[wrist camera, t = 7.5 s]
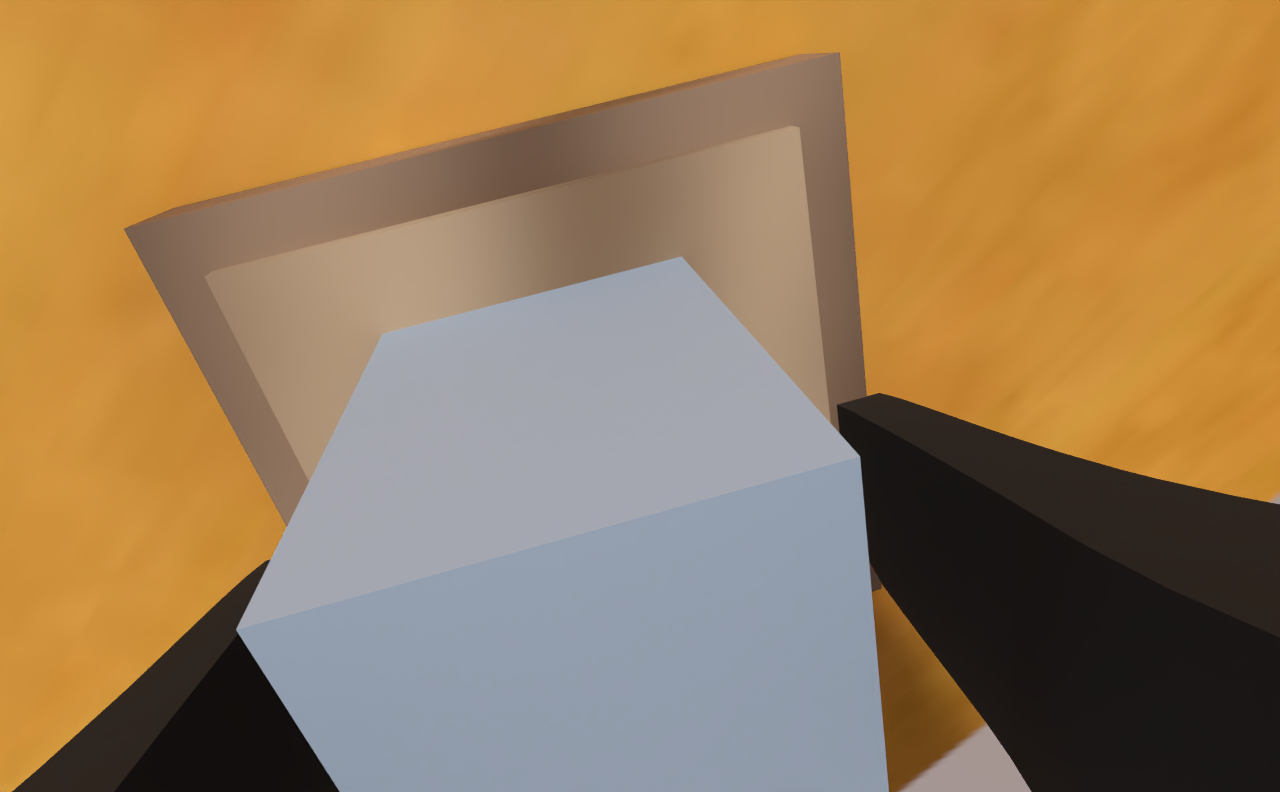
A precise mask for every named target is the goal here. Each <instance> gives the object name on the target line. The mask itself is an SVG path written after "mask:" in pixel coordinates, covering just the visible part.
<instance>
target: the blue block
mask: <svg viewBox="0 0 1280 792" xmlns="http://www.w3.org/2000/svg"><path fill="white" fill-rule="evenodd" d="M236 630H237V632H238V634H239V635H240V637H241V638H242V640H243V641H244V643H245V645H246V646H247V648H248V649H249V651H250V652H251V654H252V655H253V657H254V659H255V660H256V662H257V663H258V665H259V666H260V668H261V670H262V671H263V673H264V674H265V676H266V677H267V679H268V681H269V682H270V684H271V685H272V687H273V688H274V690H275V691H276V693H277V695H278V696H279V698H280V699H281V701H282V702H283V704H284V706H285V707H286V709H287V710H288V712H289V713H290V715H291V716H292V718H293V720H294V721H295V723H296V724H297V726H298V727H299V729H300V731H301V732H302V734H303V735H304V737H305V738H306V740H307V741H308V743H309V745H310V746H311V748H312V749H313V751H314V752H315V754H316V756H317V757H318V759H319V760H320V762H321V763H322V765H323V766H324V768H325V770H326V771H327V773H328V774H329V776H330V777H331V779H332V781H333V782H334V784H335V785H336V787H337V788H338V790H339V791H340V792H889V786H888V775H887V763H886V752H885V740H884V728H883V717H882V705H881V694H880V682H879V671H878V659H877V647H876V636H875V624H874V613H873V601H872V589H871V578H870V566H869V555H868V543H867V532H866V520H865V508H864V497H863V485H862V474H861V462H860V456H859V455H858V454H857V452H856V451H855V450H854V449H853V448H852V447H851V446H850V445H849V443H848V442H847V441H846V440H845V439H844V438H843V437H842V436H841V434H840V433H839V432H838V431H837V430H836V429H835V428H834V427H833V426H832V424H831V423H830V422H829V421H828V420H827V419H826V418H825V417H824V415H823V414H822V413H821V412H820V411H819V410H818V409H817V408H816V406H815V405H814V404H813V403H812V402H811V401H810V400H809V399H808V397H807V396H806V395H805V394H804V393H803V392H802V391H801V390H800V389H799V387H798V386H797V385H796V384H795V383H794V382H793V381H792V380H791V378H790V377H789V376H788V375H787V374H786V373H785V372H784V371H783V369H782V368H781V367H780V366H779V365H778V364H777V363H776V362H775V360H774V359H773V358H772V357H771V356H770V355H769V354H768V353H767V352H766V350H765V349H764V348H763V347H762V346H761V345H760V344H759V343H758V341H757V340H756V339H755V338H754V337H753V336H752V335H751V334H750V332H749V331H748V330H747V329H746V328H745V327H744V326H743V325H742V323H741V322H740V321H739V320H738V319H737V318H736V317H735V316H734V315H733V313H732V312H731V311H730V310H729V309H728V308H727V307H726V306H725V304H724V303H723V302H722V301H721V300H720V299H719V298H718V297H717V295H716V294H715V293H714V292H713V291H712V290H711V289H710V288H709V286H708V285H707V284H706V283H705V282H704V281H703V280H702V279H701V278H700V276H699V275H698V274H697V273H696V272H695V271H694V270H693V269H692V267H691V266H690V265H689V264H688V263H687V262H686V261H685V260H684V258H683V257H682V256H681V257H677V258H674V259H670V260H666V261H662V262H658V263H654V264H650V265H646V266H643V267H639V268H635V269H631V270H627V271H623V272H619V273H616V274H612V275H608V276H604V277H600V278H596V279H592V280H588V281H585V282H581V283H577V284H573V285H569V286H565V287H561V288H558V289H554V290H550V291H546V292H542V293H538V294H534V295H531V296H527V297H523V298H519V299H515V300H511V301H507V302H503V303H500V304H496V305H492V306H488V307H484V308H480V309H476V310H473V311H469V312H465V313H461V314H457V315H453V316H449V317H445V318H442V319H438V320H434V321H430V322H426V323H422V324H418V325H415V326H411V327H407V328H403V329H399V330H395V331H391V332H388V333H384V334H382V336H381V338H380V340H379V342H378V344H377V346H376V348H375V350H374V352H373V354H372V356H371V358H370V360H369V362H368V364H367V366H366V368H365V370H364V372H363V374H362V376H361V378H360V380H359V382H358V384H357V386H356V388H355V390H354V392H353V394H352V396H351V398H350V400H349V402H348V404H347V406H346V408H345V410H344V412H343V414H342V416H341V418H340V420H339V423H338V425H337V427H336V429H335V431H334V433H333V435H332V437H331V439H330V441H329V443H328V445H327V447H326V449H325V451H324V453H323V455H322V457H321V459H320V461H319V463H318V465H317V467H316V469H315V471H314V473H313V475H312V477H311V479H310V481H309V483H308V485H307V487H306V489H305V491H304V493H303V495H302V497H301V499H300V501H299V503H298V505H297V507H296V510H295V512H294V514H293V516H292V518H291V520H290V522H289V524H288V526H287V528H286V530H285V532H284V534H283V536H282V538H281V540H280V542H279V544H278V546H277V548H276V550H275V552H274V554H273V556H272V558H271V560H270V562H269V564H268V566H267V568H266V570H265V572H264V574H263V576H262V578H261V580H260V582H259V584H258V586H257V588H256V590H255V592H254V594H253V597H252V599H251V601H250V603H249V605H248V607H247V609H246V611H245V613H244V615H243V617H242V619H241V621H240V623H239V625H238V627H237V629H236Z"/></svg>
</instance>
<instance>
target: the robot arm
mask: <svg viewBox="0 0 1280 792" xmlns="http://www.w3.org/2000/svg"><path fill="white" fill-rule="evenodd" d="M837 413H838V423H839V433H840V434H841V436H842V437H843V438H844V439H845V440H846V441H847V442H848V443H849V445H850V446H851V447H852V448H853V449H854V450H855V451H856V452H857V454H858V455H859V456H860V462H861V474H862V485H863V497H864V508H865V520H866V532H867V543H868V555H869V562H870V564H871V566H872V567H873V569H874V571H875V573H876V574H877V576H878V578H879V580H880V581H881V583H882V585H883V586H884V587H885V589H886V590H887V591H888V593H889V594H890V596H891V597H892V598H893V600H894V601H895V602H896V604H897V605H898V606H899V608H900V609H901V610H902V612H903V613H904V614H905V616H906V617H907V618H908V620H909V621H910V622H911V624H912V625H913V626H914V628H915V629H916V630H917V632H918V633H919V634H920V636H921V637H922V638H923V640H924V641H925V642H926V644H927V645H928V646H929V648H930V649H931V650H932V652H933V653H934V654H935V656H936V657H937V658H938V660H939V661H940V662H941V663H942V665H943V666H944V667H945V669H946V670H947V671H948V673H949V674H950V675H951V677H952V678H953V679H954V681H955V682H956V683H957V685H958V686H959V687H960V689H961V690H962V691H963V693H964V694H965V695H966V697H967V698H968V699H969V700H970V702H971V703H972V704H973V706H974V707H975V708H976V710H977V711H978V712H979V714H980V715H981V716H982V718H983V719H984V720H985V722H986V723H987V724H988V726H989V727H990V729H991V730H992V732H993V733H994V734H995V736H996V737H997V739H998V740H999V742H1000V743H1001V745H1002V746H1003V747H1004V749H1005V750H1006V752H1007V753H1008V755H1009V756H1010V758H1011V759H1012V761H1013V762H1014V764H1015V766H1016V767H1017V769H1018V770H1019V772H1020V774H1021V775H1022V777H1023V779H1024V780H1025V782H1026V783H1027V785H1028V787H1029V788H1030V790H1031V791H1032V792H1280V504H1274V503H1269V502H1264V501H1258V500H1253V499H1248V498H1242V497H1237V496H1232V495H1228V494H1223V493H1219V492H1214V491H1210V490H1205V489H1200V488H1196V487H1191V486H1187V485H1182V484H1178V483H1173V482H1169V481H1164V480H1160V479H1156V478H1152V477H1148V476H1144V475H1140V474H1136V473H1132V472H1128V471H1124V470H1120V469H1117V468H1113V467H1110V466H1106V465H1103V464H1099V463H1096V462H1092V461H1089V460H1085V459H1082V458H1078V457H1074V456H1071V455H1067V454H1064V453H1061V452H1057V451H1054V450H1051V449H1048V448H1045V447H1041V446H1038V445H1035V444H1032V443H1029V442H1026V441H1023V440H1020V439H1017V438H1014V437H1011V436H1008V435H1005V434H1002V433H999V432H996V431H993V430H990V429H987V428H984V427H981V426H978V425H975V424H972V423H970V422H967V421H964V420H961V419H958V418H955V417H952V416H950V415H947V414H944V413H941V412H938V411H935V410H932V409H930V408H927V407H924V406H921V405H918V404H915V403H912V402H909V401H906V400H903V399H900V398H896V397H893V396H889V395H885V394H881V393H878V394H874V395H870V396H867V397H863V398H859V399H856V400H852V401H848V402H845V403H841V404H837ZM269 562H270V560H267V561H265V562H264V563H263V564H261V565H260V566H259V567H258V568H256V569H255V570H254V571H253V572H251V573H250V574H249V575H248V576H247V577H245V578H244V579H243V580H242V581H241V582H240V583H239V584H238V585H236V586H235V587H234V588H233V589H232V590H231V591H230V592H229V593H228V594H227V595H226V596H224V597H223V598H222V599H221V600H220V601H219V602H218V603H217V604H216V605H215V606H214V607H213V608H212V609H211V610H210V611H208V612H207V613H206V614H205V615H204V616H203V617H202V618H201V619H200V620H199V621H198V622H197V623H196V624H195V625H194V626H193V627H192V628H191V629H190V630H189V631H188V632H186V633H185V634H184V635H183V636H182V637H181V638H180V639H179V640H178V641H177V642H176V643H175V644H174V645H173V646H172V647H171V648H170V649H169V650H168V651H167V652H166V653H164V654H163V655H162V656H161V657H160V658H159V659H158V660H157V661H156V662H155V663H154V664H153V665H152V666H151V667H150V668H149V669H148V670H147V671H146V672H145V673H144V674H142V675H141V676H140V677H139V678H138V679H137V680H136V681H135V682H134V683H133V684H132V685H131V686H130V687H129V688H128V689H127V690H126V691H124V692H123V693H122V694H121V695H120V696H119V697H118V698H117V699H116V700H114V701H113V702H112V703H111V704H110V705H109V706H108V707H107V708H106V709H105V710H103V711H102V712H101V713H100V714H99V715H98V716H97V717H96V718H95V719H93V720H92V721H91V722H90V723H89V724H88V725H87V726H86V727H85V728H83V729H82V730H81V731H80V732H79V733H78V734H77V735H76V736H75V737H74V738H72V739H71V740H70V741H69V742H68V743H67V744H66V745H65V746H64V747H62V748H61V749H60V750H59V751H58V752H57V753H56V754H55V755H54V756H52V757H51V758H50V759H49V760H48V761H47V762H46V763H45V764H44V765H43V766H41V767H40V768H39V769H38V770H37V771H36V772H35V773H33V774H32V775H31V776H30V777H29V778H28V779H26V780H25V781H24V782H23V783H22V784H21V785H19V786H18V787H17V788H16V789H15V790H14V791H12V792H340V791H339V790H338V788H337V787H336V785H335V784H334V782H333V781H332V779H331V777H330V776H329V774H328V773H327V771H326V770H325V768H324V766H323V765H322V763H321V762H320V760H319V759H318V757H317V756H316V754H315V752H314V751H313V749H312V748H311V746H310V745H309V743H308V741H307V740H306V738H305V737H304V735H303V734H302V732H301V731H300V729H299V727H298V726H297V724H296V723H295V721H294V720H293V718H292V716H291V715H290V713H289V712H288V710H287V709H286V707H285V706H284V704H283V702H282V701H281V699H280V698H279V696H278V695H277V693H276V691H275V690H274V688H273V687H272V685H271V684H270V682H269V681H268V679H267V677H266V676H265V674H264V673H263V671H262V670H261V668H260V666H259V665H258V663H257V662H256V660H255V659H254V657H253V655H252V654H251V652H250V651H249V649H248V648H247V646H246V645H245V643H244V641H243V640H242V638H241V637H240V635H239V634H238V632H237V630H236V629H237V627H238V625H239V623H240V621H241V619H242V617H243V615H244V613H245V611H246V609H247V607H248V605H249V603H250V601H251V599H252V597H253V594H254V592H255V590H256V588H257V586H258V584H259V582H260V580H261V578H262V576H263V574H264V572H265V570H266V568H267V566H268V564H269Z"/></svg>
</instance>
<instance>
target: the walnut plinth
mask: <svg viewBox="0 0 1280 792" xmlns="http://www.w3.org/2000/svg"><path fill="white" fill-rule="evenodd" d="M124 230H125V232H126V234H127V236H128V237H129V239H130V241H131V243H132V245H133V246H134V248H135V250H136V252H137V254H138V256H139V257H140V259H141V261H142V263H143V265H144V267H145V268H146V270H147V272H148V274H149V276H150V278H151V279H152V281H153V283H154V285H155V287H156V289H157V290H158V292H159V294H160V296H161V298H162V299H163V301H164V303H165V305H166V307H167V309H168V310H169V312H170V314H171V316H172V318H173V320H174V321H175V323H176V325H177V327H178V329H179V331H180V332H181V334H182V336H183V338H184V340H185V342H186V343H187V345H188V347H189V349H190V351H191V352H192V354H193V356H194V358H195V360H196V362H197V363H198V365H199V367H200V369H201V371H202V373H203V374H204V376H205V378H206V380H207V382H208V384H209V385H210V387H211V389H212V391H213V393H214V395H215V396H216V398H217V400H218V402H219V404H220V405H221V407H222V409H223V411H224V413H225V415H226V416H227V418H228V420H229V422H230V424H231V426H232V427H233V429H234V431H235V433H236V435H237V437H238V438H239V440H240V442H241V444H242V446H243V448H244V449H245V451H246V453H247V455H248V457H249V458H250V460H251V462H252V464H253V466H254V468H255V469H256V471H257V473H258V475H259V477H260V479H261V480H262V482H263V484H264V486H265V488H266V490H267V491H268V493H269V495H270V497H271V499H272V501H273V502H274V504H275V506H276V508H277V510H278V511H279V513H280V515H281V517H282V519H283V521H284V522H285V524H286V526H288V524H289V522H290V520H291V518H292V516H293V514H294V512H295V510H296V507H297V505H298V503H299V501H300V499H301V497H302V495H303V493H304V491H305V489H306V487H307V485H308V483H309V481H310V479H311V477H312V475H313V473H314V471H315V469H316V467H317V465H318V463H319V461H320V459H321V457H322V455H323V453H324V451H325V449H326V447H327V445H328V443H329V441H330V439H331V437H332V435H333V433H334V431H335V429H336V427H337V425H338V423H339V420H340V418H341V416H342V414H343V412H344V410H345V408H346V406H347V404H348V402H349V400H350V398H351V396H352V394H353V392H354V390H355V388H356V386H357V384H358V382H359V380H360V378H361V376H362V374H363V372H364V370H365V368H366V366H367V364H368V362H369V360H370V358H371V356H372V354H373V352H374V350H375V348H376V346H377V344H378V342H379V340H380V338H381V336H382V334H384V333H388V332H391V331H395V330H399V329H403V328H407V327H411V326H415V325H418V324H422V323H426V322H430V321H434V320H438V319H442V318H445V317H449V316H453V315H457V314H461V313H465V312H469V311H473V310H476V309H480V308H484V307H488V306H492V305H496V304H500V303H503V302H507V301H511V300H515V299H519V298H523V297H527V296H531V295H534V294H538V293H542V292H546V291H550V290H554V289H558V288H561V287H565V286H569V285H573V284H577V283H581V282H585V281H588V280H592V279H596V278H600V277H604V276H608V275H612V274H616V273H619V272H623V271H627V270H631V269H635V268H639V267H643V266H646V265H650V264H654V263H658V262H662V261H666V260H670V259H674V258H677V257H681V256H682V257H683V258H684V260H685V261H686V262H687V263H688V264H689V265H690V266H691V267H692V269H693V270H694V271H695V272H696V273H697V274H698V275H699V276H700V278H701V279H702V280H703V281H704V282H705V283H706V284H707V285H708V286H709V288H710V289H711V290H712V291H713V292H714V293H715V294H716V295H717V297H718V298H719V299H720V300H721V301H722V302H723V303H724V304H725V306H726V307H727V308H728V309H729V310H730V311H731V312H732V313H733V315H734V316H735V317H736V318H737V319H738V320H739V321H740V322H741V323H742V325H743V326H744V327H745V328H746V329H747V330H748V331H749V332H750V334H751V335H752V336H753V337H754V338H755V339H756V340H757V341H758V343H759V344H760V345H761V346H762V347H763V348H764V349H765V350H766V352H767V353H768V354H769V355H770V356H771V357H772V358H773V359H774V360H775V362H776V363H777V364H778V365H779V366H780V367H781V368H782V369H783V371H784V372H785V373H786V374H787V375H788V376H789V377H790V378H791V380H792V381H793V382H794V383H795V384H796V385H797V386H798V387H799V389H800V390H801V391H802V392H803V393H804V394H805V395H806V396H807V397H808V399H809V400H810V401H811V402H812V403H813V404H814V405H815V406H816V408H817V409H818V410H819V411H820V412H821V413H822V414H823V415H824V417H825V418H826V419H827V420H828V421H829V422H830V423H831V424H832V426H833V427H834V428H835V429H836V430H837V431H838V432H839V423H838V413H837V404H841V403H845V402H848V401H852V400H856V399H859V398H863V397H867V395H866V383H865V370H864V357H863V344H862V331H861V318H860V306H859V293H858V280H857V267H856V254H855V241H854V229H853V216H852V203H851V190H850V177H849V165H848V152H847V139H846V126H845V113H844V100H843V88H842V75H841V62H840V52H839V53H818V54H800V55H796V56H792V57H788V58H784V59H780V60H776V61H772V62H767V63H763V64H759V65H755V66H751V67H747V68H743V69H739V70H735V71H731V72H727V73H723V74H719V75H715V76H710V77H706V78H702V79H698V80H694V81H690V82H686V83H682V84H678V85H674V86H670V87H666V88H662V89H658V90H653V91H649V92H645V93H641V94H637V95H633V96H629V97H625V98H621V99H617V100H613V101H609V102H605V103H600V104H596V105H592V106H588V107H584V108H580V109H576V110H572V111H568V112H564V113H560V114H556V115H552V116H548V117H543V118H539V119H535V120H531V121H527V122H523V123H519V124H515V125H511V126H507V127H503V128H499V129H495V130H491V131H486V132H482V133H478V134H474V135H470V136H466V137H462V138H458V139H454V140H450V141H446V142H442V143H438V144H433V145H429V146H425V147H421V148H417V149H413V150H409V151H405V152H401V153H397V154H393V155H389V156H385V157H381V158H376V159H372V160H368V161H364V162H360V163H356V164H352V165H348V166H344V167H340V168H336V169H332V170H328V171H324V172H319V173H315V174H311V175H307V176H303V177H299V178H295V179H291V180H287V181H283V182H279V183H275V184H271V185H266V186H262V187H258V188H254V189H250V190H246V191H242V192H238V193H234V194H230V195H226V196H222V197H218V198H214V199H209V200H205V201H201V202H197V203H193V204H189V205H185V206H181V207H177V208H173V209H170V210H168V211H165V212H163V213H161V214H158V215H156V216H153V217H151V218H148V219H146V220H144V221H141V222H139V223H136V224H134V225H131V226H129V227H127V228H124ZM869 566H870V578H871V589H872V591H875V590H878V589H882V588H881V581H880V580H879V578H878V576H877V574H876V573H875V571H874V569H873V567H872V566H871V564H870V562H869Z"/></svg>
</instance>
